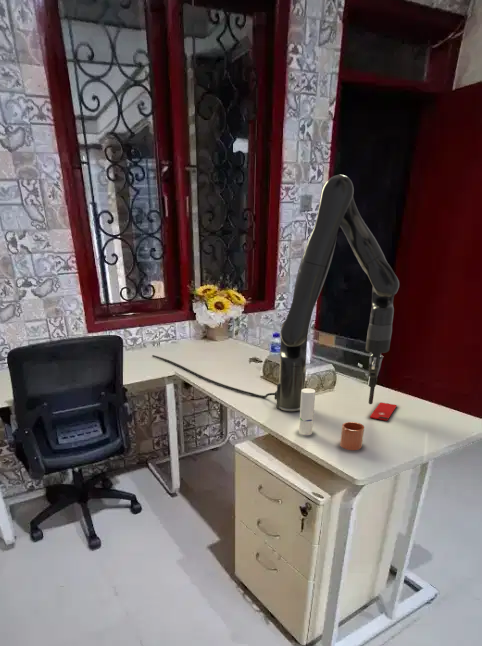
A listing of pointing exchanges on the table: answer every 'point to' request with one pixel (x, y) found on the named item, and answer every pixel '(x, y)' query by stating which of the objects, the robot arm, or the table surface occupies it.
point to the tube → (306, 411)
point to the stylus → (371, 395)
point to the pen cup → (352, 436)
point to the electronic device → (383, 411)
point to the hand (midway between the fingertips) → (372, 385)
